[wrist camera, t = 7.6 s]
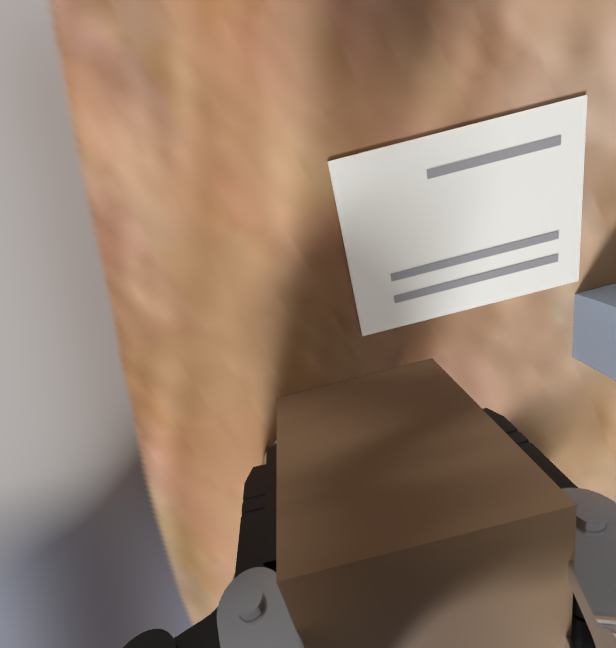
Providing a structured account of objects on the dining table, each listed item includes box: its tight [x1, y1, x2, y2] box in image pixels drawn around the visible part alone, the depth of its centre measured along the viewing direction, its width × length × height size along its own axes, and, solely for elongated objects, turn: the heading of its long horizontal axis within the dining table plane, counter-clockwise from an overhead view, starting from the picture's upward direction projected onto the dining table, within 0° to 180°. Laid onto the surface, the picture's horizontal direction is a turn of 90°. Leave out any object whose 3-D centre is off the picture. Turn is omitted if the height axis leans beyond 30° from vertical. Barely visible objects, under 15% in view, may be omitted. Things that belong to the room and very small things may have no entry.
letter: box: [328, 95, 587, 336], centre depth 21 cm, size 15×11×1 cm
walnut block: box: [276, 358, 577, 648], centre depth 8 cm, size 4×4×5 cm
